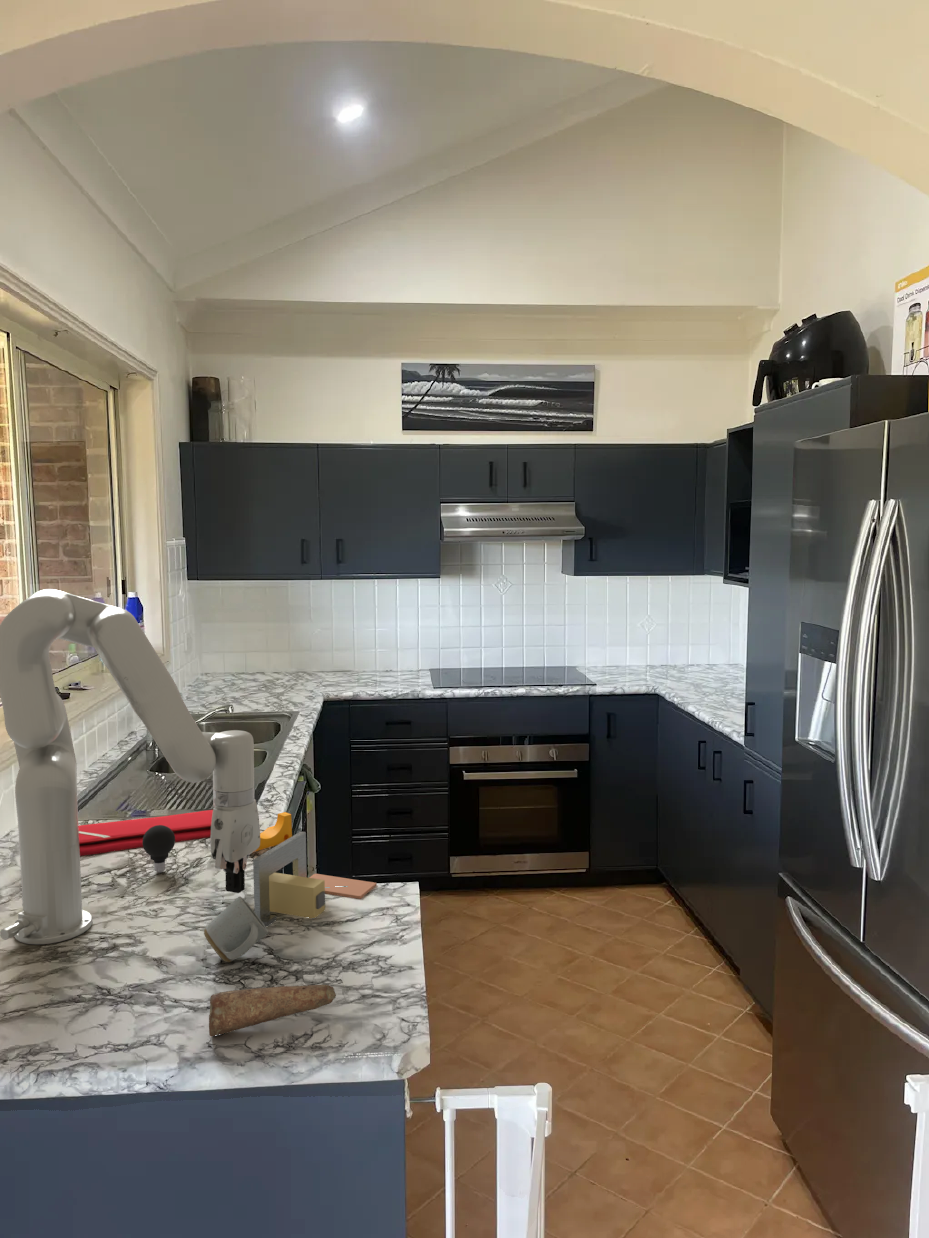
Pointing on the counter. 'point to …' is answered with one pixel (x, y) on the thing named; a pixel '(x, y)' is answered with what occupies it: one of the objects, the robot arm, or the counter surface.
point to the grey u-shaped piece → (270, 864)
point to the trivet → (354, 886)
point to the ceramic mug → (235, 930)
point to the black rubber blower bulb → (159, 845)
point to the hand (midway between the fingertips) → (235, 890)
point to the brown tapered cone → (263, 1005)
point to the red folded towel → (141, 831)
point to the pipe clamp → (277, 832)
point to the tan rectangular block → (296, 895)
